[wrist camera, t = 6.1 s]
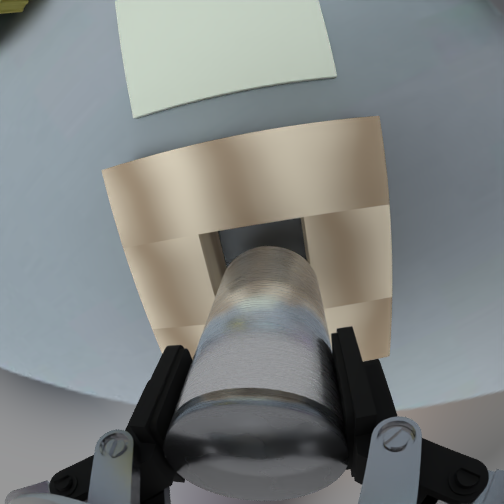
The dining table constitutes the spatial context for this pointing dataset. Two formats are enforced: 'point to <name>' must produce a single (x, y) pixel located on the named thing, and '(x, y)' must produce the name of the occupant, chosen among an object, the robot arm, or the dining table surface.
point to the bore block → (261, 222)
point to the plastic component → (12, 6)
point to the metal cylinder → (261, 387)
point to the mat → (218, 48)
